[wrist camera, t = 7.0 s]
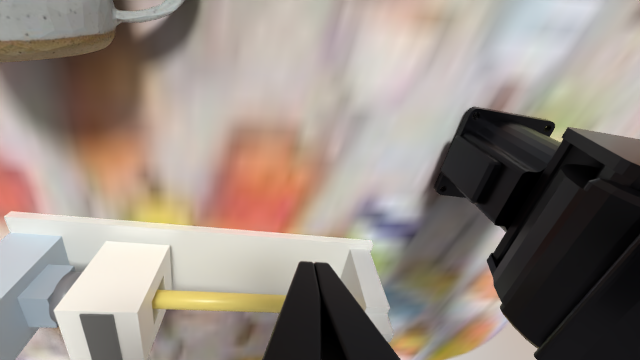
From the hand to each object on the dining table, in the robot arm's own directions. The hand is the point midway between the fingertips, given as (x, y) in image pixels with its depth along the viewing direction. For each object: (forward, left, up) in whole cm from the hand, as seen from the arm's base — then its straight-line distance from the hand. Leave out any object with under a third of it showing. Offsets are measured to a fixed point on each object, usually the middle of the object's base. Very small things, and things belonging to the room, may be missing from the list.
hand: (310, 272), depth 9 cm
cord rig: (+5, +12, -12) cm, 18 cm away
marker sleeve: (+9, +12, -11) cm, 19 cm away
